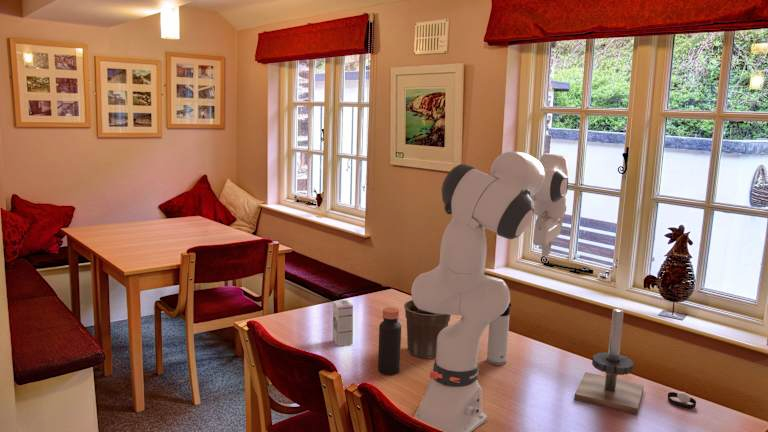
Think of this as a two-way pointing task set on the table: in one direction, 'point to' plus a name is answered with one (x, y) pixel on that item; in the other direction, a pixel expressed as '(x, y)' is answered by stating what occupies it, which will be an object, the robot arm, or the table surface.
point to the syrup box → (342, 322)
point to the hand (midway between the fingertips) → (545, 254)
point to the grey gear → (612, 364)
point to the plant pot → (423, 330)
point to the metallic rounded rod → (614, 347)
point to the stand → (609, 393)
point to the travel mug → (498, 339)
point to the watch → (683, 398)
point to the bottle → (389, 342)
